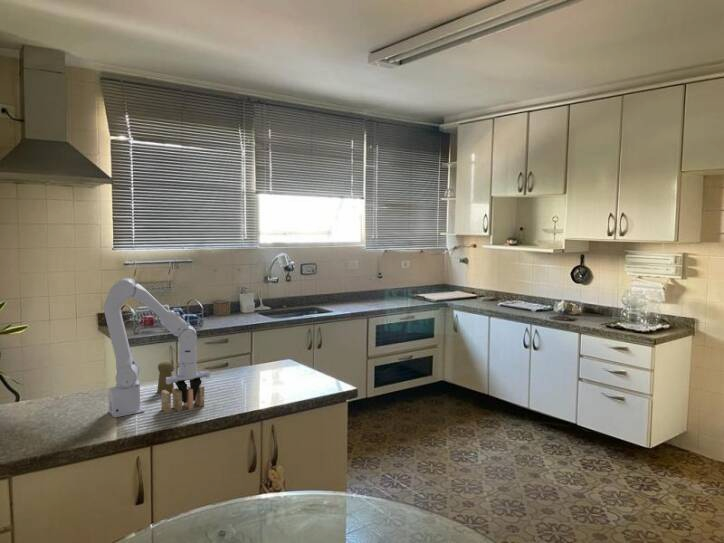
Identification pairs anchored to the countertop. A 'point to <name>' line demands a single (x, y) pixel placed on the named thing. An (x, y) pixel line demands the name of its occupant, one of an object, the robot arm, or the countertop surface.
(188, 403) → the domino
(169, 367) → the cork
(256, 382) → the countertop surface
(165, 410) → the domino
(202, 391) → the end domino
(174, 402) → the middle domino
